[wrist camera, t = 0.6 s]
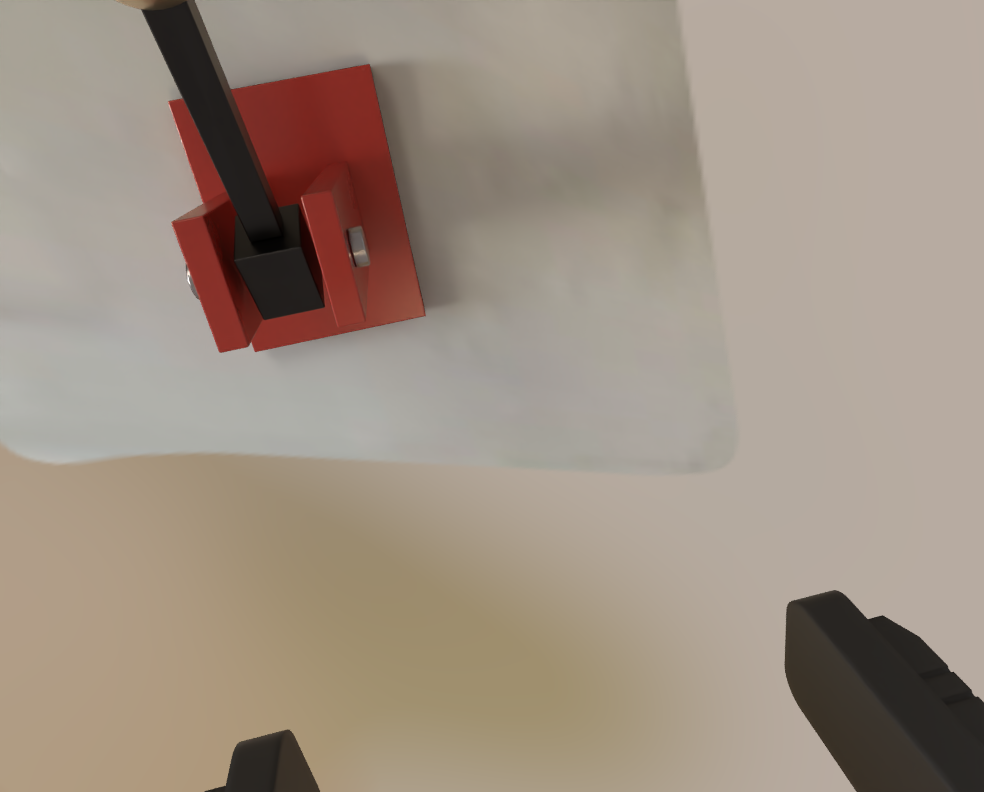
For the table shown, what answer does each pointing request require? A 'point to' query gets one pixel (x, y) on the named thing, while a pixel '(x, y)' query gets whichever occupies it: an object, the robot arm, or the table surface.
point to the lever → (238, 168)
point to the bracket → (306, 210)
